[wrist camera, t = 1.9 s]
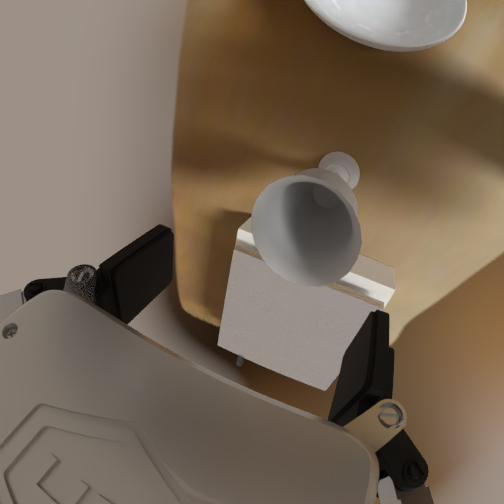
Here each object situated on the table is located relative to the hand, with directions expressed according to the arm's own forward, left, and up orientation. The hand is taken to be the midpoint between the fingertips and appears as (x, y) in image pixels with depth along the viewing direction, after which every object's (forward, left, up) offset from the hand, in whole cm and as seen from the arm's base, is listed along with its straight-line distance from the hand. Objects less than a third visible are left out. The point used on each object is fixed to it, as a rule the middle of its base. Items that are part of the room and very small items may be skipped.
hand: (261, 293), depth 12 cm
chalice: (0, 0, -24) cm, 24 cm away
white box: (-1, +20, -22) cm, 30 cm away
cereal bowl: (0, -23, -24) cm, 34 cm away
